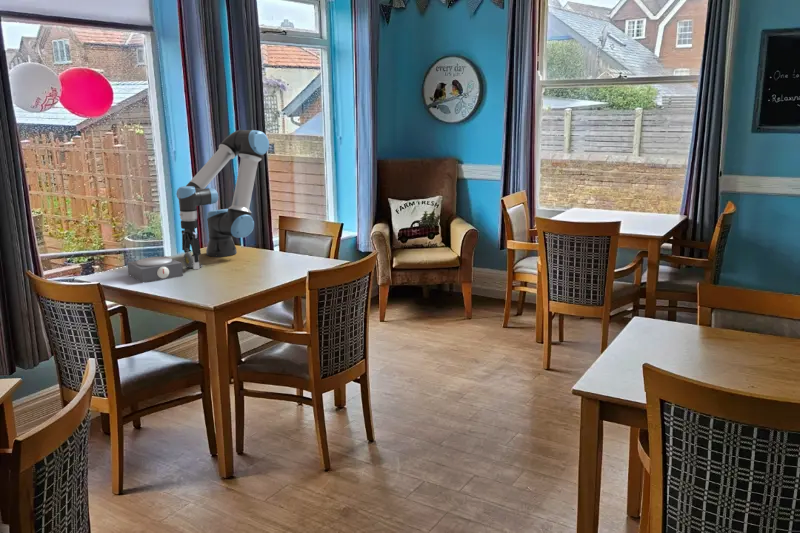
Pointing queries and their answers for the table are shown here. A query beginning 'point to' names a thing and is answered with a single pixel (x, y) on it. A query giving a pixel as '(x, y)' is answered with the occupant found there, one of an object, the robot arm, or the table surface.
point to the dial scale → (155, 268)
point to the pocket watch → (189, 260)
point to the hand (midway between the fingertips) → (192, 267)
